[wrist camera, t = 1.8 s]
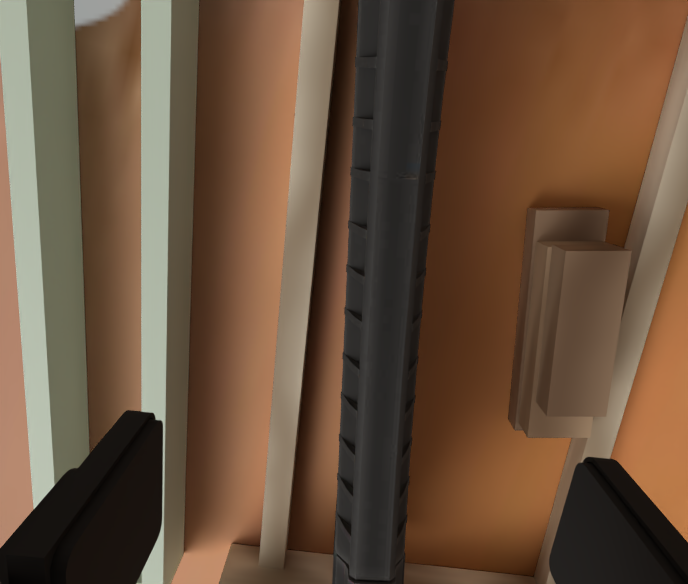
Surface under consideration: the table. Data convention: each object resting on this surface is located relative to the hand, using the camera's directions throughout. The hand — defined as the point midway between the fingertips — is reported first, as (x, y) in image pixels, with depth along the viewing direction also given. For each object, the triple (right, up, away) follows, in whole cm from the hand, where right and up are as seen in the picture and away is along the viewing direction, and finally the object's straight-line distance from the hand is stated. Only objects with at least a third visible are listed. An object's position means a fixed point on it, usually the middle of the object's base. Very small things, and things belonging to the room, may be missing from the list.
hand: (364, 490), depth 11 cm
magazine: (+1, +4, +16) cm, 16 cm away
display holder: (-12, +6, +15) cm, 20 cm away
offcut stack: (+11, +3, +16) cm, 19 cm away
